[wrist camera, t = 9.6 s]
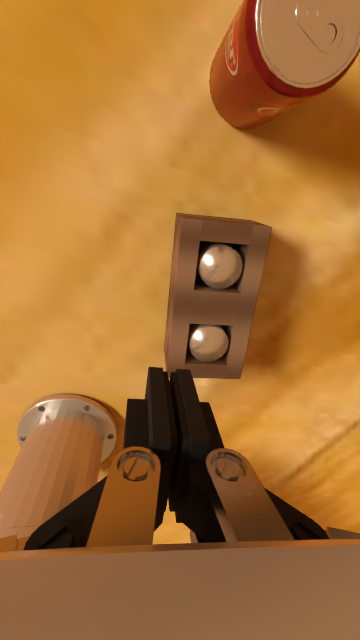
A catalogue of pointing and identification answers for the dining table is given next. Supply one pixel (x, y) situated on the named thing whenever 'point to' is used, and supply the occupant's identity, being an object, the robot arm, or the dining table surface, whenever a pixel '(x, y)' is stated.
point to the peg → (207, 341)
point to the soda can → (282, 56)
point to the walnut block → (213, 292)
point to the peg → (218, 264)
